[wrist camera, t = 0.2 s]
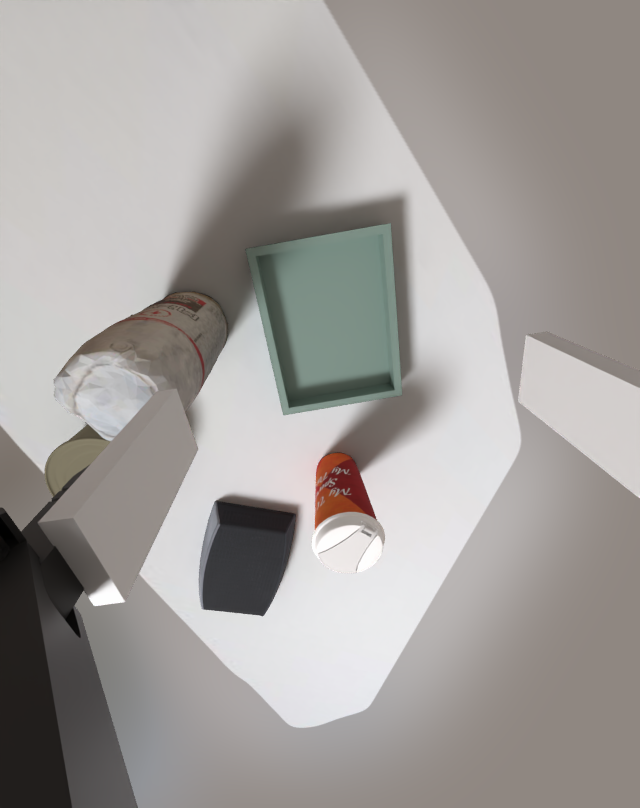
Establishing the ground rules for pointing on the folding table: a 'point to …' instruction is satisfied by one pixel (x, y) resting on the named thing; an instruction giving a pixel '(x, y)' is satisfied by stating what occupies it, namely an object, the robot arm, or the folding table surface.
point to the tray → (330, 317)
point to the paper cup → (344, 518)
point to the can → (73, 458)
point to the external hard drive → (243, 558)
